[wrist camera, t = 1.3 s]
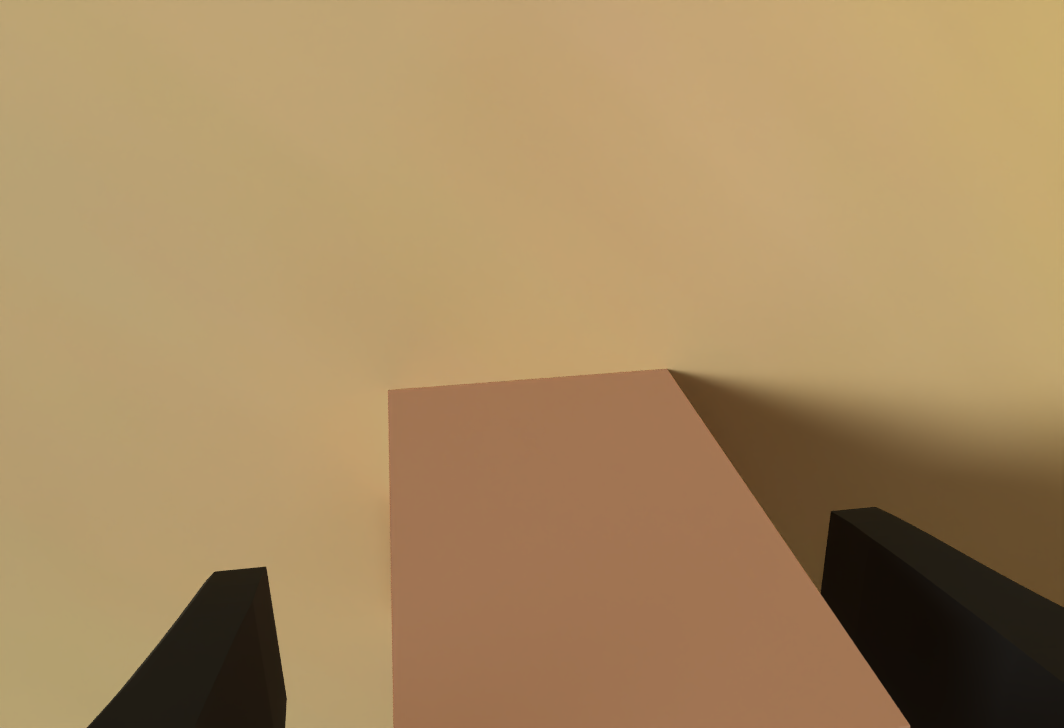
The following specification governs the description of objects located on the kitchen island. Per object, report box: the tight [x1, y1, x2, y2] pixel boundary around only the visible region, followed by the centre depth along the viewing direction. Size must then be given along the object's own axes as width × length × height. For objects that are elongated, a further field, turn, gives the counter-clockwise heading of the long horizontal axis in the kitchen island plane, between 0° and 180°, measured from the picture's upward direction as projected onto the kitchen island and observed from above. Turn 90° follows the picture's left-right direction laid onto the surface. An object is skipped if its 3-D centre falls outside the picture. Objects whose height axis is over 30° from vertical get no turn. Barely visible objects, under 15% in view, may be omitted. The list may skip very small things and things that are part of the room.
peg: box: [388, 369, 910, 728], centre depth 11 cm, size 4×4×7 cm
